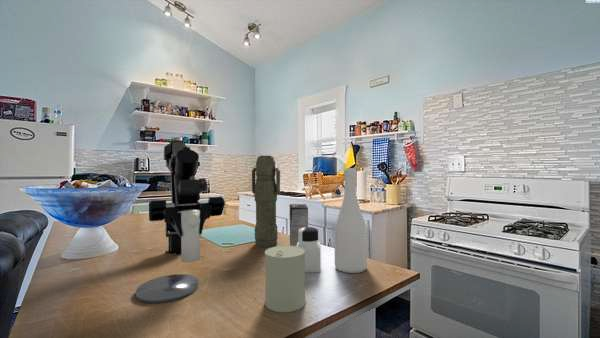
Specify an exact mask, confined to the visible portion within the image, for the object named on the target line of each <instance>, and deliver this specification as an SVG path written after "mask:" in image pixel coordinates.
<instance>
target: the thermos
mask: <svg viewBox="0 0 600 338" xmlns="http://www.w3.org/2000/svg"><path fill="white" fill-rule="evenodd" d="M251 191H252V194H253V195H254V201H255V225H254V241H255V243H254V244H255V245H254V246H255V247H257V248H264V249H265V248H266V249H269V248H271V247H276V246H277V245H278V225H277V201H278V195H279V194H280V193H281V171H280V169H279V168H278V167H276V162H275V158H274V156H272V155H259V156H258V157H257V158H256V162H255V167H253V168H252V170H251Z"/></svg>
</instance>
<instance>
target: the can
mask: <svg viewBox="0 0 600 338" xmlns="http://www.w3.org/2000/svg"><path fill="white" fill-rule="evenodd" d="M264 264H265V265H264V269H265V271H264V277H265V278H264V279H265V280H264V281H265V288H264V290H265V294H264V295H265V297H264V298H265V299H264V305H265V308H267V309H269V310H270V311H272V312H276V313H293V312H297V311H299V310H300V309H303V307H304V306H305V305H306V303H307V299H306V287H305V286H306V283H305V281H306V272H305V250H304V249H303V248H300V247H297V246H290V245H278V246H277V245H276V246H274V247H268V248H266V250H264Z"/></svg>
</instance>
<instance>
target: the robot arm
mask: <svg viewBox="0 0 600 338" xmlns="http://www.w3.org/2000/svg"><path fill="white" fill-rule="evenodd" d="M199 157H200V155H199V154H198V153H197V152H196V151H195V150H192V149H191V147H190V146H187V145H186V141H184V140H181V139H180V140H178V139H175V140H174V139H172V140H169V143H168V144H166V145H165V146H164V147H163V161H165V166H166V168H167V170H169V172H170V187H171V188H170V190H171V191H170V193H171V202H167V200H166V199H157V200H155V199H153V200H150V201H149V202H148V221H150V222H161V221H164V223H165V226H164V232H165V233H164V235H165V238H168V250H165V251H164V253H165V254H172V255H181V237H182V229H181V211H183V210H199V218H200V236H202V234H203V230H204V225H205V223H206V220H207V219H210V218H211V217H217V216H218V217H219V216H221V215H223V212H224V208H225V204H226V201H225V198H224V197H222V196H210V197H208V200H207V201H208V202H199V201H200V198H201V195H200V192H206V190H207V187H208V186H207V184H208V183H207V181H206V178H203V177H202V178H198V179H196V175H197V171H198V169H199V167H200V166H201V163H200V161H199V160H200V159H199Z"/></svg>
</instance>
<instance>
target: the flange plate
mask: <svg viewBox="0 0 600 338" xmlns="http://www.w3.org/2000/svg"><path fill="white" fill-rule="evenodd" d="M198 288H199V279H198V277H196V276H194V275H191V274H182V273H181V274H180V273H178V274H169V275H164V276H159V277H155V278H153V279H150V280H147V281H145V282H143V283H141V284H140V285H139V286H138V287H137V288H136V290H135V298H136V300H137V301H139V302H141V303H146V304H164V303H169V302H174V301H177V300H181V299H183V298H186V297H188V296H191V295H192V294H193V293H195V292H196V291H197V290H198Z"/></svg>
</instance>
